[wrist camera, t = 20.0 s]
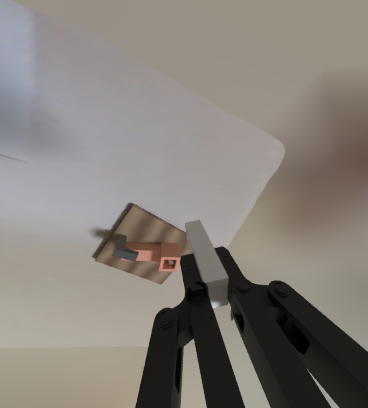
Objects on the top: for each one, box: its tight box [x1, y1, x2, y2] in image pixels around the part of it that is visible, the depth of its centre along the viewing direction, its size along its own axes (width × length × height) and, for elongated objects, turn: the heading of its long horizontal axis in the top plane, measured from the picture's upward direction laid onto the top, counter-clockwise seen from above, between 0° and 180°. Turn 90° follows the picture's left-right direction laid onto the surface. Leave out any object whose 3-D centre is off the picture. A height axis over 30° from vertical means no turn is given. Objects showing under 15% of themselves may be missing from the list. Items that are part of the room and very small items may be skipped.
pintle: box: [168, 260, 175, 266], centre depth 47 cm, size 2×2×6 cm
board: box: [95, 204, 190, 284], centre depth 47 cm, size 24×22×1 cm
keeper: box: [112, 234, 139, 261], centre depth 42 cm, size 6×2×7 cm, turn 62°
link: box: [121, 242, 181, 271], centre depth 44 cm, size 16×5×6 cm, turn 77°
